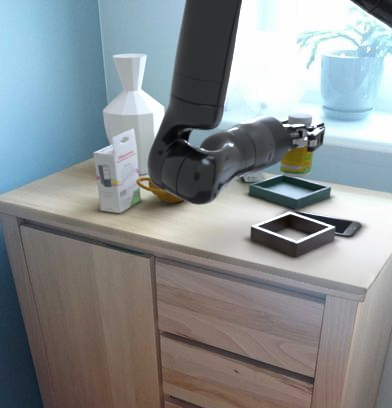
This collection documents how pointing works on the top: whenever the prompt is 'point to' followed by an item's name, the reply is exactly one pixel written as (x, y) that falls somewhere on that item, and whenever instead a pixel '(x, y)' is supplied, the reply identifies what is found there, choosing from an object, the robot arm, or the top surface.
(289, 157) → the supplement bottle
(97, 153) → the ink box
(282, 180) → the tray
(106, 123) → the vase
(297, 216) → the frame
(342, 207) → the top surface
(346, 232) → the smartphone
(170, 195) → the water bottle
